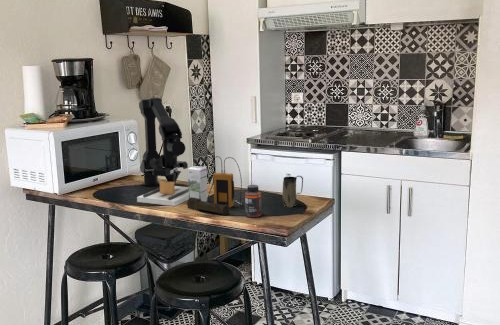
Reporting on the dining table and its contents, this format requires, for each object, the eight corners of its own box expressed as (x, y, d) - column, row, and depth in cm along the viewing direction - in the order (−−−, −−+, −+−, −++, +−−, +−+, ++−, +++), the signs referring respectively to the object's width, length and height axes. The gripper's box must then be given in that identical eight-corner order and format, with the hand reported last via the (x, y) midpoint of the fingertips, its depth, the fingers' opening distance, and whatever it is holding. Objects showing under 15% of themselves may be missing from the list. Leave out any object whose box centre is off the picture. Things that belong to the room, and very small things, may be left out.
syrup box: (208, 201, 207) (207, 166, 204) (200, 205, 201) (199, 169, 199) (196, 200, 209) (194, 165, 206) (188, 203, 204) (187, 168, 201)
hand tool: (230, 214, 189) (230, 202, 189) (223, 216, 186) (223, 204, 185) (192, 206, 200) (192, 195, 200) (185, 209, 197) (185, 197, 196)
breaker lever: (162, 192, 213) (162, 180, 212) (174, 193, 211) (174, 181, 210) (160, 193, 212) (159, 181, 211) (172, 194, 209) (171, 182, 208)
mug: (280, 206, 198) (280, 176, 195) (284, 202, 203) (284, 173, 200) (300, 208, 195) (300, 177, 193) (304, 204, 200) (304, 174, 198)
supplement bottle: (260, 213, 189) (260, 183, 187) (262, 217, 184) (262, 187, 181) (244, 213, 189) (244, 184, 187) (246, 218, 183) (245, 188, 181)
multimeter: (248, 202, 205) (248, 153, 201) (240, 208, 195) (239, 157, 191) (215, 199, 209) (213, 151, 205) (205, 206, 200) (203, 156, 196)
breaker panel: (166, 189, 227) (166, 182, 227) (201, 193, 220) (201, 185, 220) (137, 201, 207) (136, 194, 207) (175, 206, 200) (174, 198, 200)
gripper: (165, 147, 223) (167, 182, 225) (140, 154, 206) (142, 192, 209) (187, 148, 218) (189, 184, 221) (164, 156, 201) (166, 194, 204)
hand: (171, 188), depth 214 cm, fingers closed
